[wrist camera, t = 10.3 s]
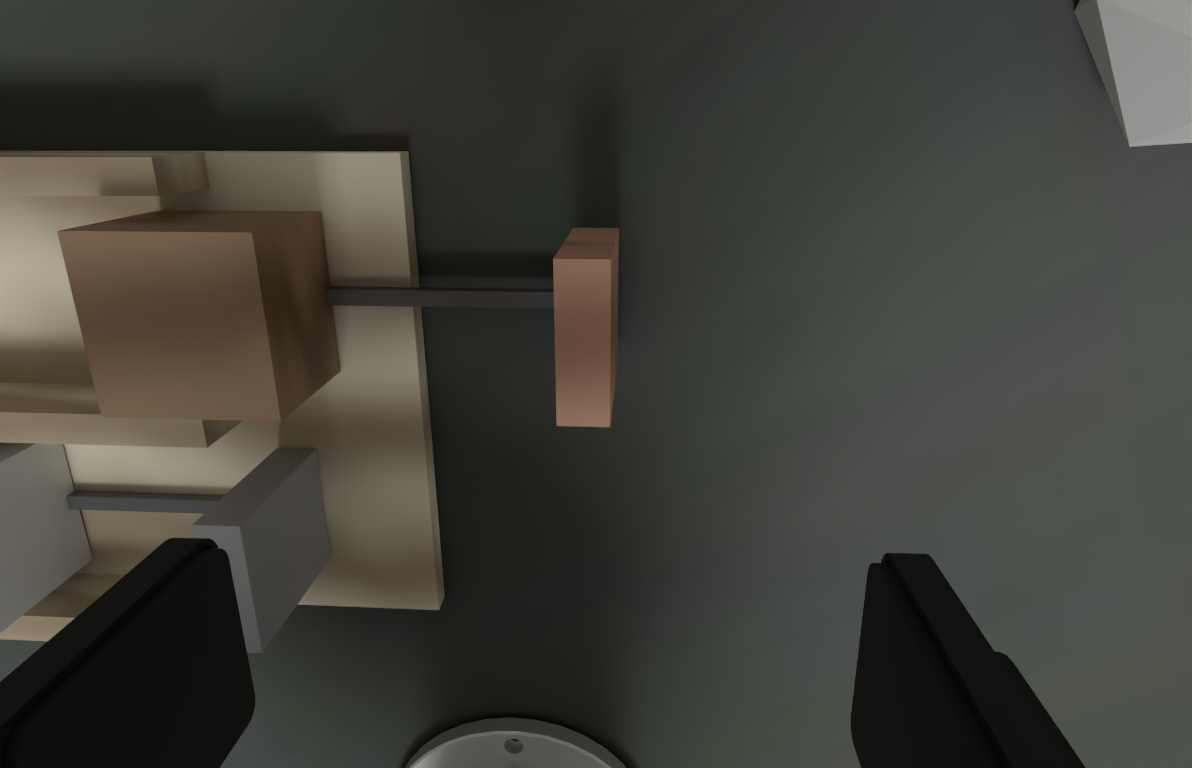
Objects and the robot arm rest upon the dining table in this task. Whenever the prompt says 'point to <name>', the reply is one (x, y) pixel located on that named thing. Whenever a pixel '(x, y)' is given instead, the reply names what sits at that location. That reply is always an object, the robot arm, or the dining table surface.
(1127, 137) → the die
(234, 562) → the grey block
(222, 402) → the walnut block
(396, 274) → the lane shelf
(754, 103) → the dining table surface
